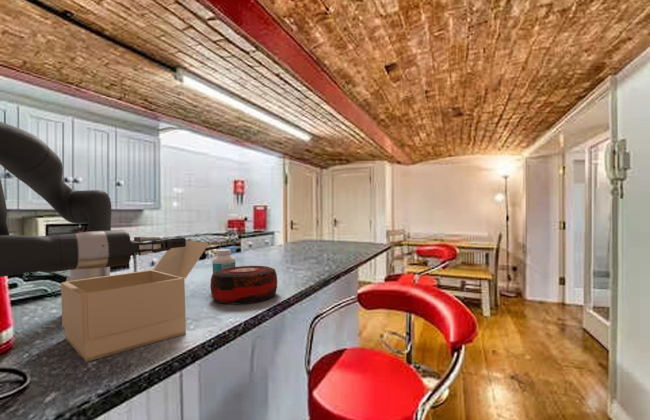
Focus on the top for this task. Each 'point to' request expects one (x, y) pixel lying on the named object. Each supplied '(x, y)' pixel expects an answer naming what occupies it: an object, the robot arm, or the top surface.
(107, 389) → the top surface
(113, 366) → the top surface
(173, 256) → the carton flap
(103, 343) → the carton
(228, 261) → the pill bottle
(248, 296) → the wheel
